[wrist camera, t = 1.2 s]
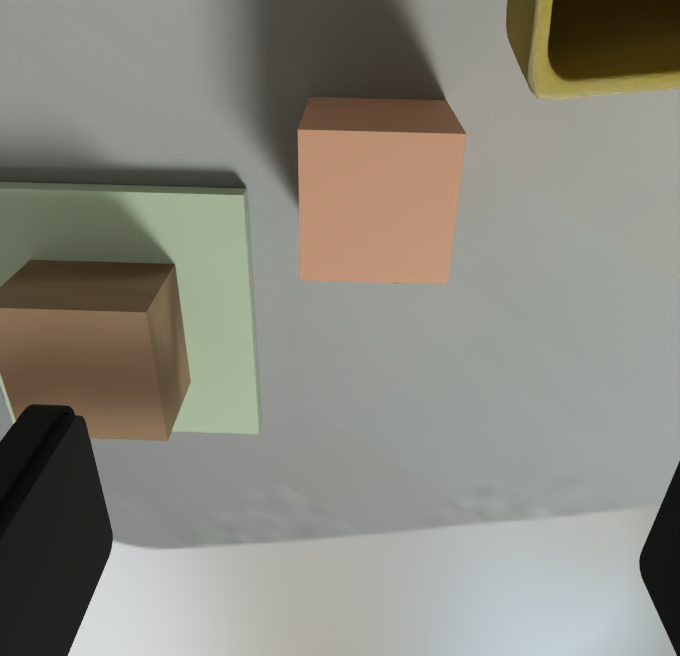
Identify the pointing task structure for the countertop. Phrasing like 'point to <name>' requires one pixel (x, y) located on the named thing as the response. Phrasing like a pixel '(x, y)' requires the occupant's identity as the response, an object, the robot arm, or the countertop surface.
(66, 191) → the plate
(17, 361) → the base block
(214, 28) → the countertop surface
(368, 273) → the cube
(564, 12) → the flower pot
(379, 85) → the countertop surface
